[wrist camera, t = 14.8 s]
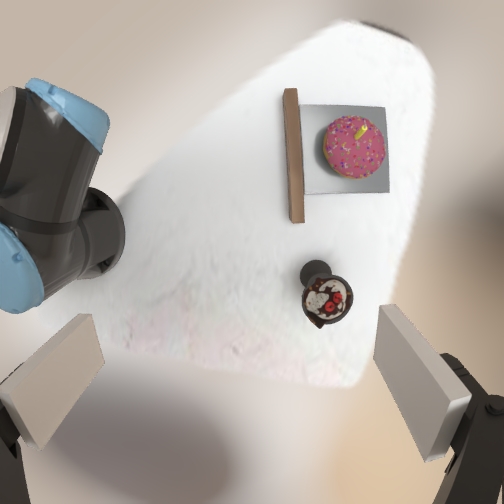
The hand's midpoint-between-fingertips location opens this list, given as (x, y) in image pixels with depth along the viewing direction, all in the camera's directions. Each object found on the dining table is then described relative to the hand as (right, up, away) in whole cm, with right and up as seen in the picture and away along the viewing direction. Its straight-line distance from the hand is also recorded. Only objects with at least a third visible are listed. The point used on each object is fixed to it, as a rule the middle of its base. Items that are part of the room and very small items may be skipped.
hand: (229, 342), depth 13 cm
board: (+15, +19, +30) cm, 39 cm away
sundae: (+11, 0, +36) cm, 37 cm away
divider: (+7, +18, +31) cm, 36 cm away
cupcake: (+14, +19, +30) cm, 38 cm away
